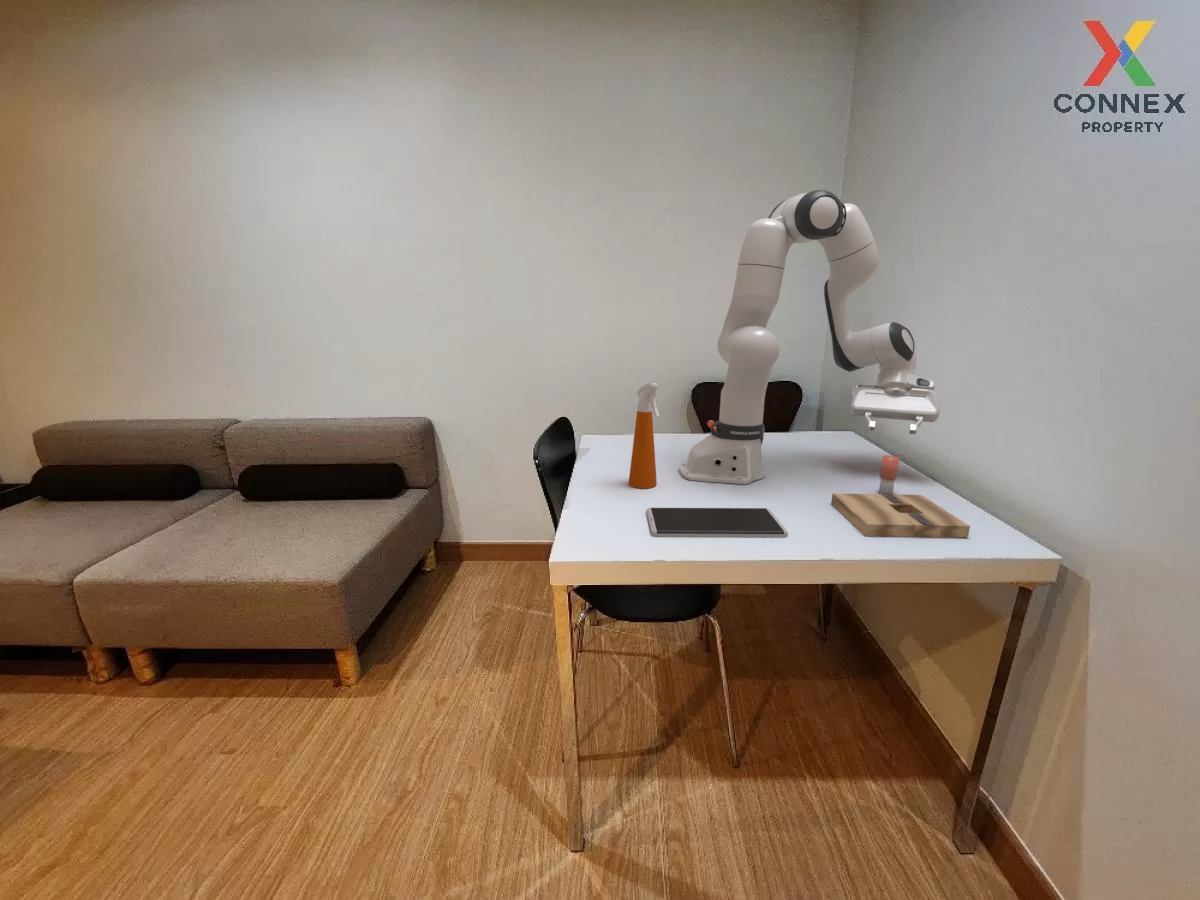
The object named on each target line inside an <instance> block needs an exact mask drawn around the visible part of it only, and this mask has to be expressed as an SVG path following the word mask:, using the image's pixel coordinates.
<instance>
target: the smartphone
mask: <svg viewBox="0 0 1200 900" xmlns="http://www.w3.org/2000/svg"><path fill="white" fill-rule="evenodd" d="M646 516H647V521H648V526H649V530H650V534H651V536H652V537H655V538H787V537H789V536H788V535H789V532H788V530H787V529H786V528H785V526H784V525H783V524H782V523H781V522H780V521H779V518H777V517H776V515H775V514H774V513H773V511H771V509H770V508H763V507H760V508H758V507H754V508H752V507H751V508H750V507H749V508H748V507H742V508H741V507H648V508H647V509H646Z"/></svg>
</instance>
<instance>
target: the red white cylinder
mask: <svg viewBox="0 0 1200 900" xmlns="http://www.w3.org/2000/svg"><path fill="white" fill-rule="evenodd" d="M899 463H900V457H898V456H894V455H882V458H881V466H880V472H879V478H880V480H879V481H880V482H879V489H878V494H881V493H887V494H894V488H895V481H896V480H897V478H898V471H899Z"/></svg>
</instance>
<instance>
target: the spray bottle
mask: <svg viewBox="0 0 1200 900" xmlns="http://www.w3.org/2000/svg"><path fill="white" fill-rule="evenodd" d="M658 387H659V385H658V383H656V382H649V383H646V384H645V385H643V386H640V388H639V389H638V390H637V391H636V394H637V396H638V402H637V411H636V418H635V424H634V425H635V427H634V434H633V441H632V451H631V460H630V467H629V477H628V485H629V486H630V487H631V488H632V487H633V488H635V489H643V490H644V489H645V490H646V489H652V488H655V487H656V485H657V484H658V483H657V482H658V481H657V467H656V466H657V465H656V452H655V450H656V449H655V436H654V435H655V434H654V420H653V413H654V416H655V417H656V418H660V414H659V409H658V406H657V401H656V400H657V399H656V394H657V393H656V392H657V389H659V388H658Z"/></svg>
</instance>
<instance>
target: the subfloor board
mask: <svg viewBox="0 0 1200 900" xmlns="http://www.w3.org/2000/svg"><path fill="white" fill-rule="evenodd" d="M831 495H832V496H831V501H830V502H831V505H832V506H833V507H834V509H836V510H837V511H839V513H840V514H841V515H842V516H843V517H844V518H846V519H847V520H848V521H849V522H850V523H851V524H852V525H853V526H854V527H855V528H856V529H857V530H858V531H860V533H861V534H862V535H863V536H864V537H895V538H897V537H901V538H903V537H905V538H947V537H968V538H969V534H970V529H971V526H970V524H968V523H966V522H964V521H963V520H961V519H960V518H959V517H956V516H955V515H954V514H952V513H950V512H949V511H947V510H946V509H945V508H943V507H941V506H939V505H938V504H936V503H935V502H933V501H932V500H930V499H929V498H927V497H926V496H924V495H922V494H894V493H893V494H887V493H881V494H880V493H878V494H877V493H872V494H871V493H837V492H836V493H832V494H831Z"/></svg>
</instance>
